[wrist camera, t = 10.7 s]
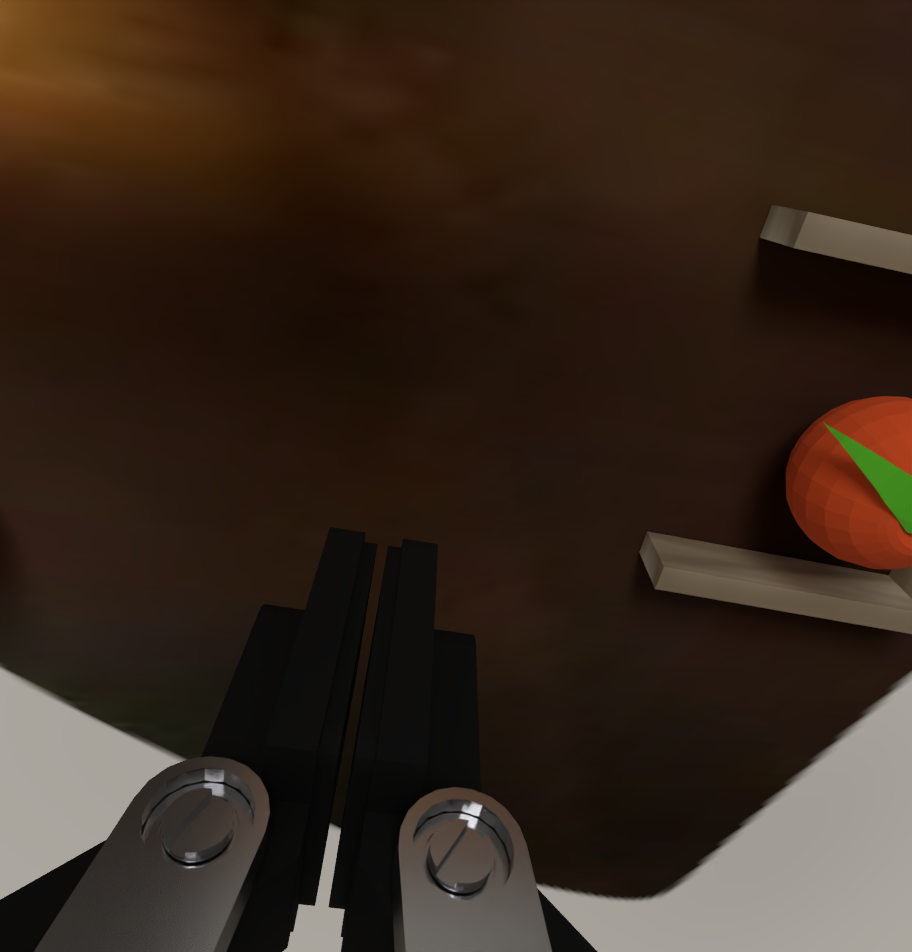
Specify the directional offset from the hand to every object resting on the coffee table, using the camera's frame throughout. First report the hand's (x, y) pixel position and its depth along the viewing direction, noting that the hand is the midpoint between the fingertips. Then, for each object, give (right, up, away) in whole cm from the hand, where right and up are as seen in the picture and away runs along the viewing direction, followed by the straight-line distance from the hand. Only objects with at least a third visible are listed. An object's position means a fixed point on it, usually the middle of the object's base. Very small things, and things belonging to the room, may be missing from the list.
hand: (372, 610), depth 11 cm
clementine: (+18, +4, +19) cm, 27 cm away
